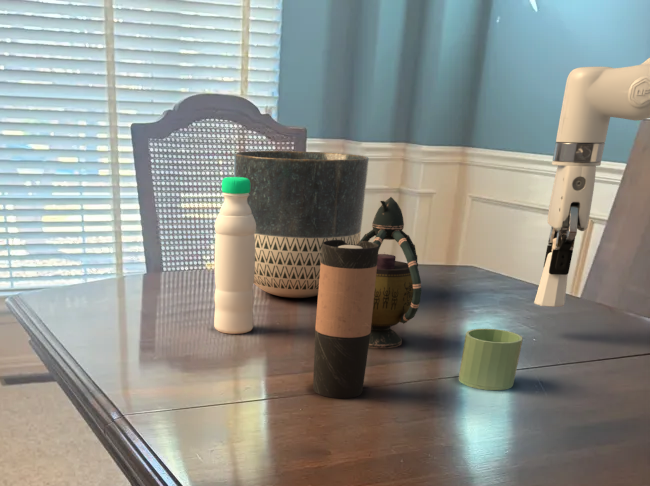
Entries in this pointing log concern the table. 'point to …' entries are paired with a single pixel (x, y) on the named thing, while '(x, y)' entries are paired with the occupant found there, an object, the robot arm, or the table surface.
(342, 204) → the planter
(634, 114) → the robot arm
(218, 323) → the water bottle
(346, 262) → the travel mug
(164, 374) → the table surface
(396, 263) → the teapot
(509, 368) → the cup
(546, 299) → the salt shaker
